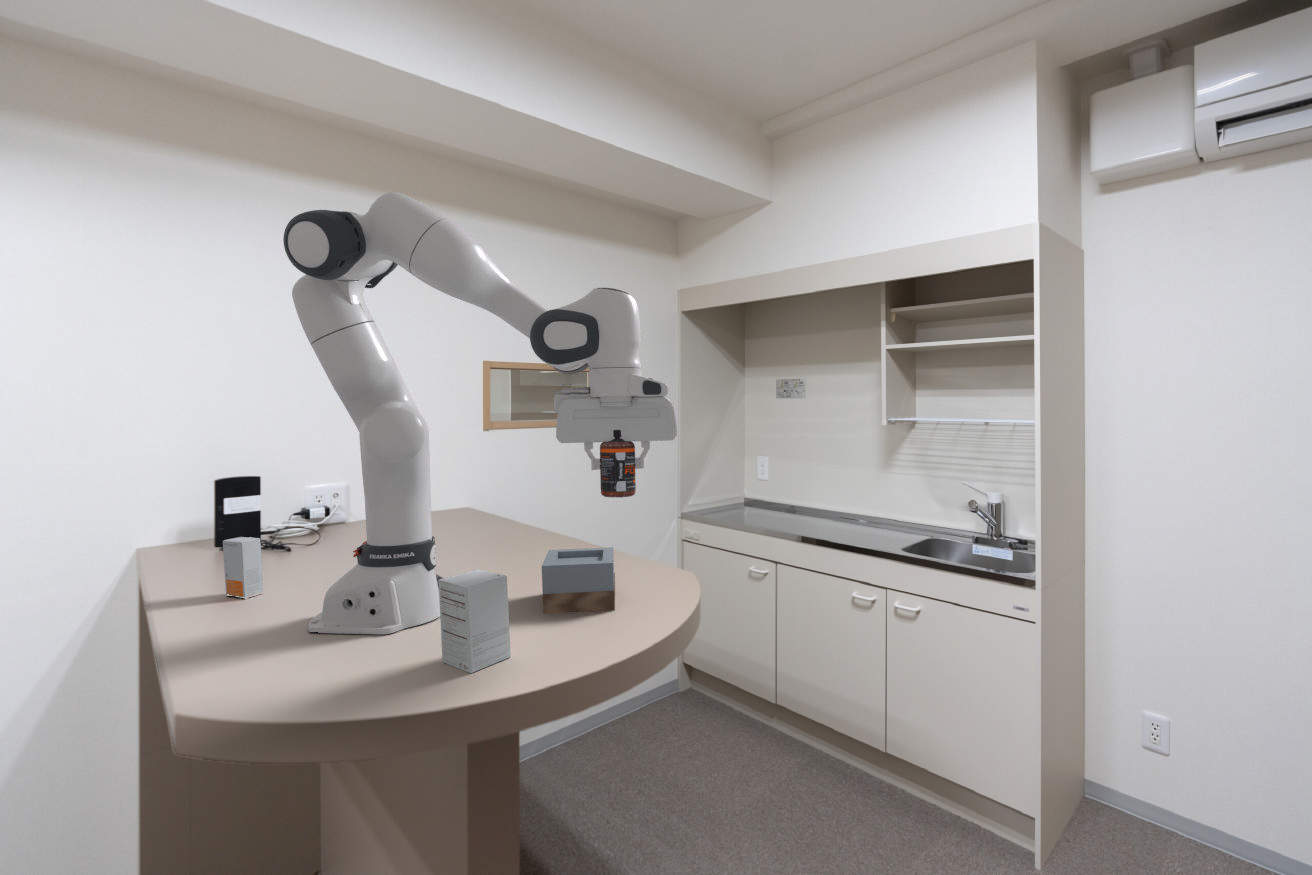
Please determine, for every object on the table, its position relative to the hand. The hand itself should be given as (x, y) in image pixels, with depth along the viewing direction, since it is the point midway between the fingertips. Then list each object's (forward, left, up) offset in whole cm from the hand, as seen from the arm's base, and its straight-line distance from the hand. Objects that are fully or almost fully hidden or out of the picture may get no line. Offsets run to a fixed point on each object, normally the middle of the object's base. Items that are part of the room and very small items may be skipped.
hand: (617, 468), depth 105 cm
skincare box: (-79, +29, -27) cm, 88 cm away
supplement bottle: (0, 0, -5) cm, 5 cm away
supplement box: (-22, -12, -27) cm, 37 cm away
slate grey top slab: (-8, +15, -23) cm, 29 cm away
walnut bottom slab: (-8, +15, -27) cm, 32 cm away
